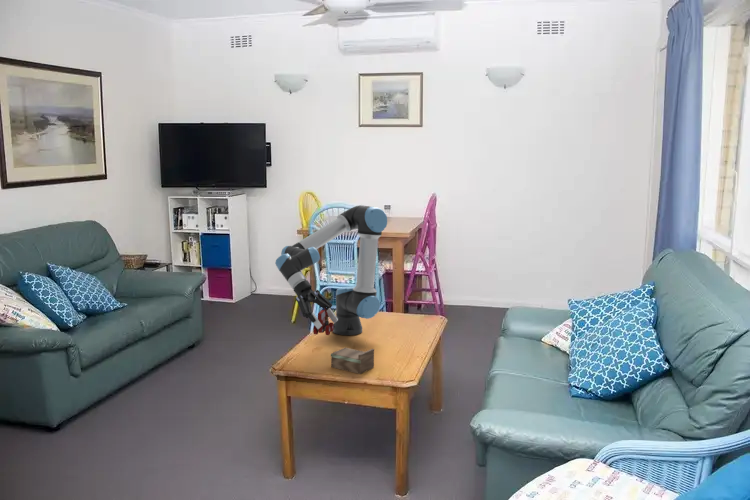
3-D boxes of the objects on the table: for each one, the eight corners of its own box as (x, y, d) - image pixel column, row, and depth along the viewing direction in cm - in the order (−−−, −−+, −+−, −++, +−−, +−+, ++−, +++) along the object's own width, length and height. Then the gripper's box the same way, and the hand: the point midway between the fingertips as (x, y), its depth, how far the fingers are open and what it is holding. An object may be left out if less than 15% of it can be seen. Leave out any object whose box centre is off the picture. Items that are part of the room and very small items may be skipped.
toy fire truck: (335, 329, 275) (335, 306, 274) (327, 337, 263) (327, 313, 262) (320, 328, 277) (319, 305, 275) (311, 336, 265) (311, 312, 263)
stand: (330, 367, 263) (330, 348, 261) (345, 360, 271) (345, 343, 270) (359, 374, 254) (360, 355, 253) (374, 367, 263) (374, 349, 262)
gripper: (312, 285, 285) (339, 323, 279) (277, 294, 266) (306, 335, 260) (320, 275, 281) (348, 313, 275) (286, 283, 262) (316, 325, 256)
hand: (328, 324), depth 268 cm, fingers closed on toy fire truck, 11 cm apart
